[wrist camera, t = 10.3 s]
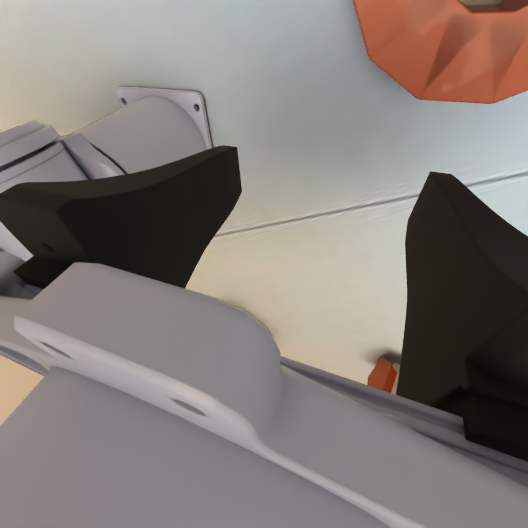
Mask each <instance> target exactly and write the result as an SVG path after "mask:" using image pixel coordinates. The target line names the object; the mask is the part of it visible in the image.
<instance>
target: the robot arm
mask: <svg viewBox="0 0 528 528" xmlns="http://www.w3.org/2000/svg"><path fill="white" fill-rule="evenodd" d="M116 93H117V96H118V98H119V101H120V103H121V106H122V108H123V109H120V110H118V111H116V112H114V113H112V114H110V115H108V116H106V117H104V118H102V119H100V120H98V121H96V122H94V123H91V124H89V125H87V126H85V127H83V128H81V129H79V130H77V131H75V132H73V133H71V134H69V135H66V136H63V137H60V135H59V134H58V132H57V131H56V129H55V128H54V127H53V126H51V125H46V126H45V125H44V124H43V123H40V122H37V121H30V122H28V123H25V124H22V125H20V126H17V127H15V128H12V129H9V130H7V131H4V132H2V133H0V355H2V356H4V357H6V358H8V359H10V360H12V361H14V362H16V363H19V364H20V365H22V366H24V367H26V368H29V369H31V370H33V371H35V372H37V373H39V374H41V375H43V376H45V377H44V378H43V379H42V380H41V381H40V383H39V384H38V385H37V386H36V387H35V388H34V389H33V390H32V391H31V392H30V394H29V395H28V396H27V397H26V398H25V399H24V400H23V401H22V403H21V404H20V405H19V406H18V407H17V408H16V409H15V410H14V412H13V413H12V414H11V415H10V416H9V417H8V418H7V419H6V421H4V423H3V424H2V425H1V426H0V528H528V236H526V235H525V234H523V233H522V232H520V231H519V230H517V229H516V228H514V227H513V226H512V225H510V224H509V223H508V222H506V221H505V220H504V219H503V218H501V217H500V216H499V215H497V214H496V213H495V212H494V211H493V210H491V209H490V208H489V207H488V206H487V205H486V204H484V203H483V202H482V201H481V200H480V199H479V198H478V197H477V196H475V195H474V194H473V193H472V192H471V191H470V190H469V189H468V188H467V187H466V186H465V185H464V184H462V183H461V182H460V181H459V180H458V179H457V178H455V177H454V176H453V175H451V174H445V173H437V172H430V173H429V176H428V178H427V180H426V182H425V184H424V187H423V189H422V191H421V193H420V195H419V197H418V200H417V202H416V204H415V206H414V208H413V210H412V213H411V215H410V217H409V219H408V224H407V232H406V241H405V248H406V272H407V310H406V321H405V330H404V339H403V348H402V356H401V363H400V370H399V377H398V384H397V390H396V395H395V394H392V393H389V392H386V391H383V390H380V389H377V388H374V387H371V386H368V385H365V384H362V383H359V382H356V381H353V380H350V379H347V378H344V377H341V376H338V375H335V374H332V373H329V372H326V371H323V370H320V369H317V368H314V367H311V366H308V365H306V364H303V363H300V362H297V361H294V360H291V359H288V358H285V357H282V356H280V351H279V349H278V347H277V345H276V343H275V341H274V339H273V336H272V335H271V333H270V331H269V329H268V328H266V327H265V326H264V325H263V324H261V323H260V322H259V321H258V320H256V319H255V318H254V317H253V316H252V315H250V314H249V313H248V312H247V311H244V310H242V309H240V308H238V307H235V306H233V305H231V304H229V303H227V302H224V301H222V300H220V299H218V298H214V297H211V296H208V295H204V294H201V293H197V292H194V291H191V290H187V289H185V287H186V285H187V283H188V281H189V279H190V277H191V275H192V273H193V271H194V269H195V267H196V265H197V263H198V261H199V259H200V258H201V256H202V254H203V252H204V250H205V249H206V247H207V246H208V244H209V243H210V241H211V240H212V238H213V237H214V236H215V234H216V233H217V231H218V230H219V229H220V227H221V226H222V224H223V223H224V222H225V220H226V219H227V217H228V216H229V215H230V213H231V212H232V210H233V209H234V207H235V205H236V203H237V201H238V199H239V196H240V194H241V192H242V188H241V179H240V170H239V161H238V152H237V147H232V146H224V145H223V146H218V147H214V148H212V144H211V139H210V133H209V128H208V122H207V117H206V111H205V106H204V100H203V97H202V95H201V94H200V93H199V92H197V91H186V90H171V89H156V88H142V87H127V86H120V87H117V89H116ZM124 99H125V100H126V101H125V100H124ZM196 104H198V105H199V107H200V110H199V109H198V108H197V106H196ZM58 137H59V138H58Z"/></svg>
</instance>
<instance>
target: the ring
mask: <svg viewBox="0 0 528 528" xmlns="http://www.w3.org/2000/svg"><path fill="white" fill-rule="evenodd" d="M353 2H354V6H355V10H356V13H357V17H358V21H359V24H360V28H361V32H362V35H363V39H364V43H365V46H366V50H367V53H368V56H369V57H370V60H371V61H372V62H374V63H375V64H376V65H377V66H378V67H380V68H381V69H382V70H383V71H384V72H386V73H387V74H388V75H389V76H390V77H392V78H393V79H394V80H395V81H396V82H398V83H399V84H400V85H401V86H402V87H404V88H405V89H406V90H407V91H408V92H410V93H411V94H412V95H413V96H414V97H416V98H417V99H418V98H419V99H420V100H434V101H451V102H468V103H485V104H491V103H496V102H498V101H501V100H504V99H506V98H509V97H511V96H514V95H517V94H519V93H522V92H524V91H527V90H528V0H505V1H504V2H502V3H500V4H494V5H464V4H463V3H462V2H461V1H460V0H353Z"/></svg>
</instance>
